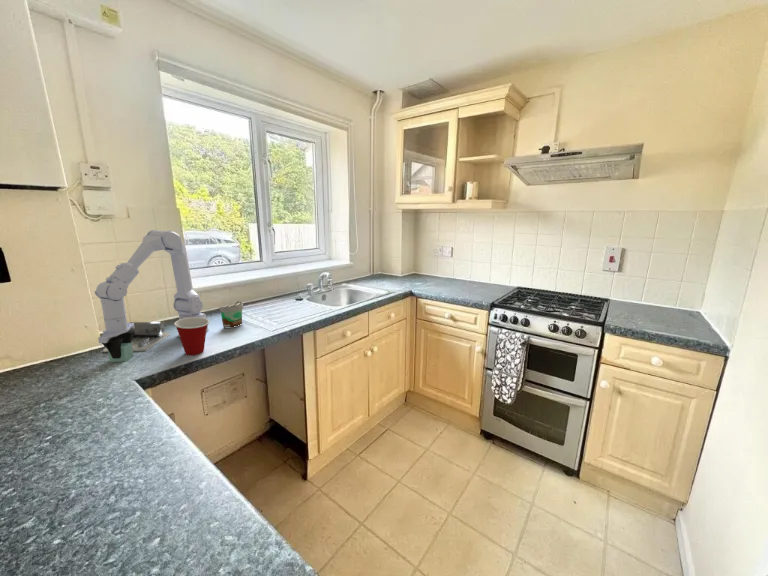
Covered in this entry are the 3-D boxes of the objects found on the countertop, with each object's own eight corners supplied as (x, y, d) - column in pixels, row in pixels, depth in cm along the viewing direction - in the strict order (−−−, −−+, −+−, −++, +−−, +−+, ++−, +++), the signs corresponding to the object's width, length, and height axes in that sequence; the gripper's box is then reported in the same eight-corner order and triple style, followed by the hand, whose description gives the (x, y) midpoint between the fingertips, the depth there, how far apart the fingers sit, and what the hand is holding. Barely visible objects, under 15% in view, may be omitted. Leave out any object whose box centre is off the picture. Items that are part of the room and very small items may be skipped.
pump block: (133, 356, 111) (131, 342, 110) (126, 361, 107) (123, 347, 106) (117, 356, 110) (115, 343, 109) (109, 361, 107) (107, 347, 105)
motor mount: (169, 334, 132) (167, 319, 130) (145, 351, 116) (143, 333, 114) (132, 335, 130) (130, 320, 128) (103, 352, 114) (100, 334, 112)
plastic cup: (200, 359, 110) (197, 326, 108) (170, 358, 111) (166, 325, 108) (218, 347, 121) (215, 317, 118) (190, 346, 121) (187, 316, 119)
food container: (233, 330, 139) (231, 308, 137) (221, 329, 140) (219, 307, 138) (250, 321, 151) (249, 301, 149) (238, 320, 152) (237, 300, 150)
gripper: (116, 311, 112) (122, 347, 115) (84, 324, 98) (92, 365, 101) (138, 311, 113) (143, 346, 116) (109, 324, 99) (116, 364, 102)
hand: (121, 355), depth 109 cm, fingers closed on pump block, 4 cm apart
